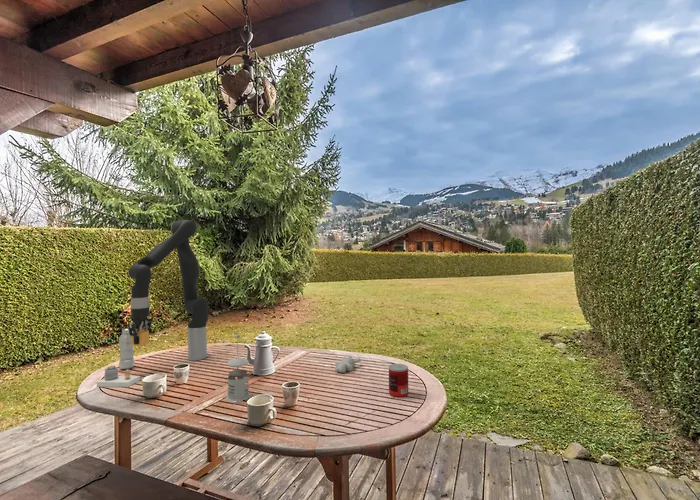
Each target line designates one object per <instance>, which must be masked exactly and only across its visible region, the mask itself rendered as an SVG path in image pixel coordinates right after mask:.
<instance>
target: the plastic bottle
mask: <svg viewBox="0 0 700 500" xmlns="http://www.w3.org/2000/svg"><path fill="white" fill-rule="evenodd" d="M118 344H119V351H120V352H119V353H120V356H119V362H118V364H119V365H118V366H119V367H118V368H119V369H120V370H127V369H132V368H133V367H134V366H135V358H134V346H132V336H130V333H129V328H128V327H124V328H122V330H121V335H120V336H119V338H118Z"/></svg>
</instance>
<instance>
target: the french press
mask: <svg viewBox="0 0 700 500" xmlns="http://www.w3.org/2000/svg"><path fill="white" fill-rule="evenodd" d="M234 338H236V341H237V346H236V347H237V348H236V349H237V351H236V352H237V354H239V338H241V334H239V333H236V334H235V336H234ZM248 364H249V360H248V359H246V358H242V357H237V358H233V359H230V360H228V362H227V365H228V366H229V367H232V371H229V372H228V376H227V395H226V396H225V398H226V400H227V401H226V400H225V401H226V402H228V401H241V402H244V401H243V400H245V401H247V400H249V399H251V398H252V395H251V393H249V374H248V371H247V370H246V369H239V367H243V366H246V365H248ZM234 368H236V369H234ZM236 378H237V379H236ZM248 398H249V399H248ZM246 399H247V400H246Z"/></svg>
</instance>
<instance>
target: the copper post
mask: <svg viewBox="0 0 700 500" xmlns="http://www.w3.org/2000/svg"><path fill="white" fill-rule="evenodd" d="M124 376H125V380H128V379H130V376H131V368H129V369H124Z"/></svg>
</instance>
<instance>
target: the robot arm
mask: <svg viewBox="0 0 700 500" xmlns="http://www.w3.org/2000/svg"><path fill="white" fill-rule="evenodd" d="M171 232H172V235H171V236H169V237H168V238H166V239H165V240H163V241H161V242H160V243H159V244H157V245H156V246H155V247H154V248H153V247H152V249H151V250H150V251H148V252H147V253H146V255H145V256H144V257H142V258H140V259H139V260H137V261H136V262H134V263H133V264H132V265H131V266H130V268H128V271H127V272H128V273H127V274H128V276H129V277H130V278H131V279H133V280H135V281H134V285H132V287H131V293H130V294H131V298H130V299H131V300H130V317H131V319H132V322H131V323H128V324H127V328H129V333H130V336H133V337H134V344H139V333H140V331H141V329H144V331H149V332H151V329H152V322H153V319H152V318H150V317H149V316H150V296H149V295H150V294H149V287H150V284H151V279H152V270H151V269H153V268H155V267H157V266H158V265H160V264H161V262H163V260H165V259H166V258H167V257H168V256H169V255H170V254H171V253H172V252H173V251H174V250H175V249H176V252H177V258H178V262H179V263H178V264H179V270H180V271H179V272H180V275H181V281H182V287H183V304H184V308H185V311H186V312H187V313H188V314H191V315H192V316H191V319H190V321H188V323H187V359H188V361H193V362H195V361H201V360H204V359H206V358H207V357H208V352H207V351H208V350H207V349H208V342H207V322H208V319H209V302H208V300H207V299H206V298H204V297H200V296H199V294H198V289H197V285H198V281H199V277H200V266H199V261H198V258H197V257H196V254H195V253H194V251H193V250H192V248H191V245H190V241H189V239H190V238H191V237H192V236H194V235H195V234H196V232H197V225H196V223H195V222H194V221H193V220H189V219H182V220H176V221H174V222H173V223H172V226H171ZM148 317H149V318H148ZM136 331H137V334H136Z"/></svg>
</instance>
